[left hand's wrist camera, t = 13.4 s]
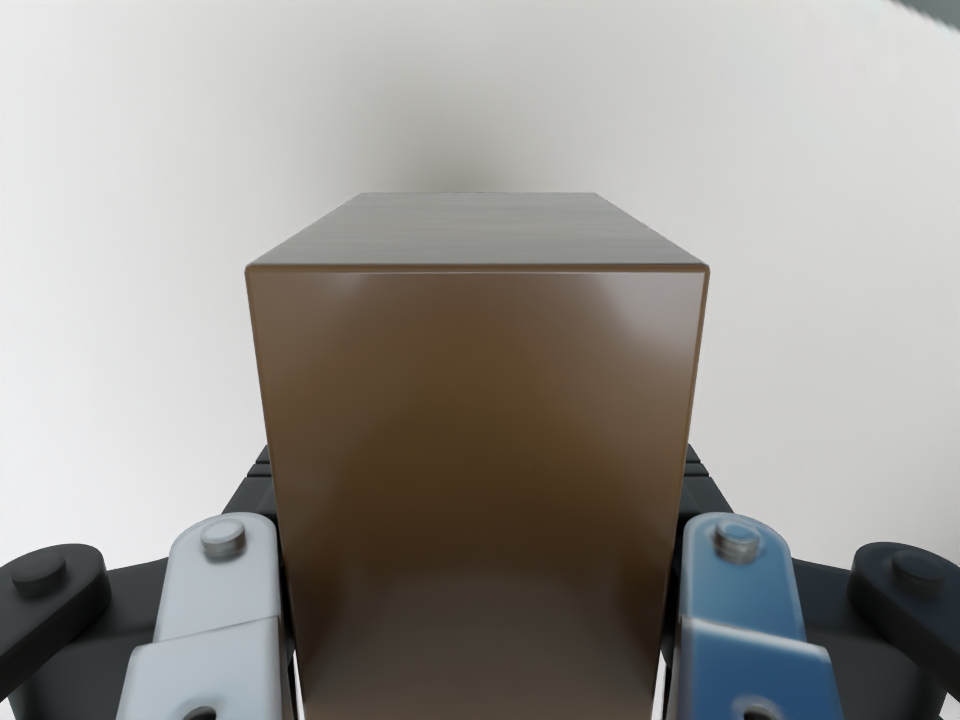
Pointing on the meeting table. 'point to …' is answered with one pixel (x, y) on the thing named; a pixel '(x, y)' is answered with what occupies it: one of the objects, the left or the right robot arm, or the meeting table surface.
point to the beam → (477, 451)
